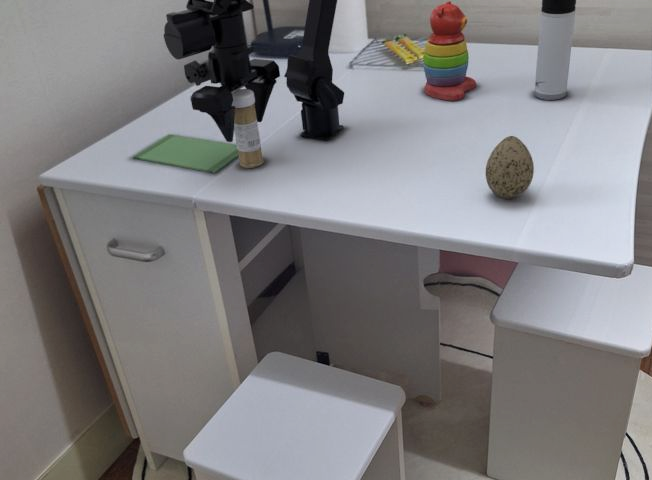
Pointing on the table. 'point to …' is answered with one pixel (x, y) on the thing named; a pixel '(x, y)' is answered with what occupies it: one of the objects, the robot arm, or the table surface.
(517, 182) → the decorative egg
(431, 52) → the stacking bear
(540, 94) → the travel mug
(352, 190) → the table surface
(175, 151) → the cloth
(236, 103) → the sprinkles bottle
